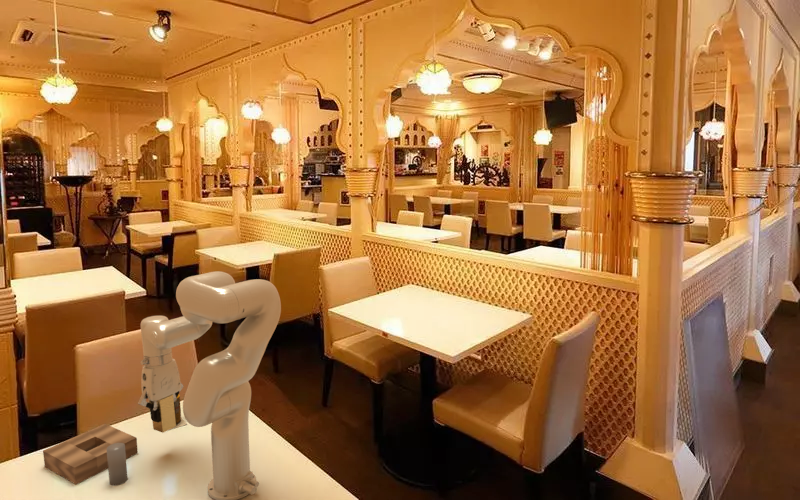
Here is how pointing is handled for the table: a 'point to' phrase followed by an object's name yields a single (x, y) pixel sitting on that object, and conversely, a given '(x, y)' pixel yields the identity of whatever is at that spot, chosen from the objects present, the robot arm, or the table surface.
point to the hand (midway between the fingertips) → (163, 416)
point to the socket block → (87, 453)
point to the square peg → (165, 414)
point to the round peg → (117, 463)
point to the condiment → (178, 414)
